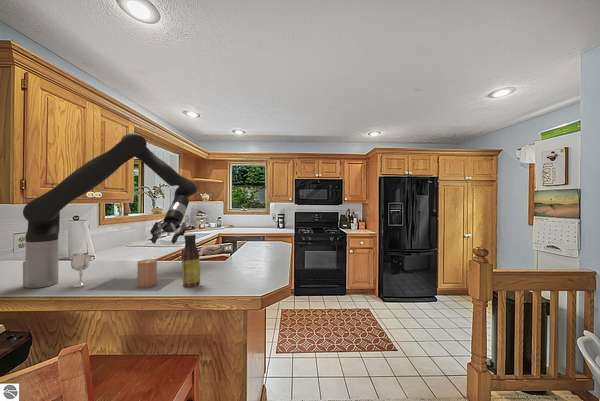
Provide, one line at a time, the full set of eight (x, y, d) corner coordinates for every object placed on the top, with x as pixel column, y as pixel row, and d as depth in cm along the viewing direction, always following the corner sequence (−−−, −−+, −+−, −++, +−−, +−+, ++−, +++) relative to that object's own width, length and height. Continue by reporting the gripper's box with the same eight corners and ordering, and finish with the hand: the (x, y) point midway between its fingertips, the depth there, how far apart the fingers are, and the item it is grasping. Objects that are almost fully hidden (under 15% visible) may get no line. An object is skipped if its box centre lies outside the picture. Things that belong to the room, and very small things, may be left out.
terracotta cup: (133, 286, 100) (133, 263, 100) (144, 281, 107) (144, 259, 107) (150, 287, 100) (150, 263, 100) (160, 281, 107) (160, 259, 107)
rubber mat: (86, 291, 97) (86, 290, 97) (113, 279, 111) (113, 278, 111) (158, 292, 97) (158, 290, 97) (176, 280, 111) (176, 279, 111)
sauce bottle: (203, 284, 105) (203, 234, 105) (190, 289, 99) (191, 236, 99) (191, 282, 108) (191, 233, 108) (178, 287, 102) (178, 235, 102)
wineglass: (79, 288, 100) (79, 256, 100) (66, 286, 102) (66, 255, 102) (93, 283, 106) (93, 253, 106) (82, 282, 107) (82, 252, 107)
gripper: (157, 208, 124) (142, 237, 112) (188, 208, 124) (176, 237, 112) (163, 219, 129) (149, 247, 118) (192, 219, 129) (182, 247, 118)
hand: (162, 242), depth 115 cm, fingers open, 8 cm apart
